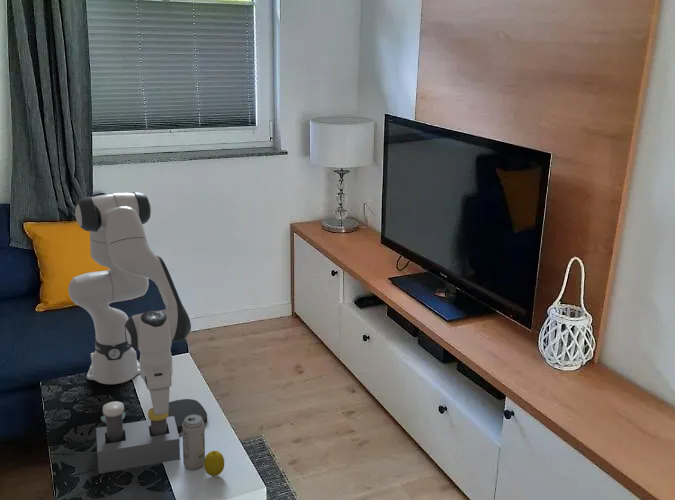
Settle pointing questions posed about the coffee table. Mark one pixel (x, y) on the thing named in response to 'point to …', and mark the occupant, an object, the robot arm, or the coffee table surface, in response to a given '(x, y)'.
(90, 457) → the coffee table surface
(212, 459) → the lemon
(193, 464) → the energy drink can
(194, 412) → the media streaming box
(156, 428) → the knob mustard
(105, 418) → the pacifier
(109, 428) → the knob white
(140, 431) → the mount
